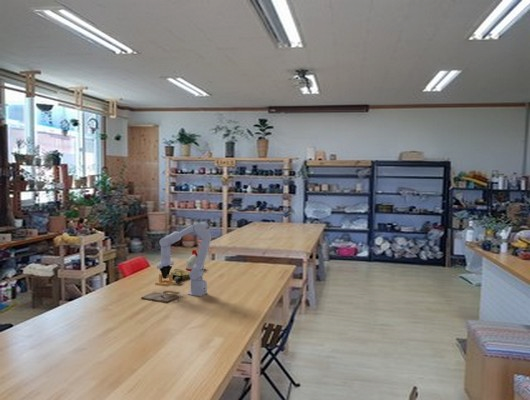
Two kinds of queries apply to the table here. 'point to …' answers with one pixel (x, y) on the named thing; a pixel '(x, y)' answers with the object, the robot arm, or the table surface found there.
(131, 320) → the table surface
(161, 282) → the link
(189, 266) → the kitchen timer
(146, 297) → the walnut board
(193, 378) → the table surface
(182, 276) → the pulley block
